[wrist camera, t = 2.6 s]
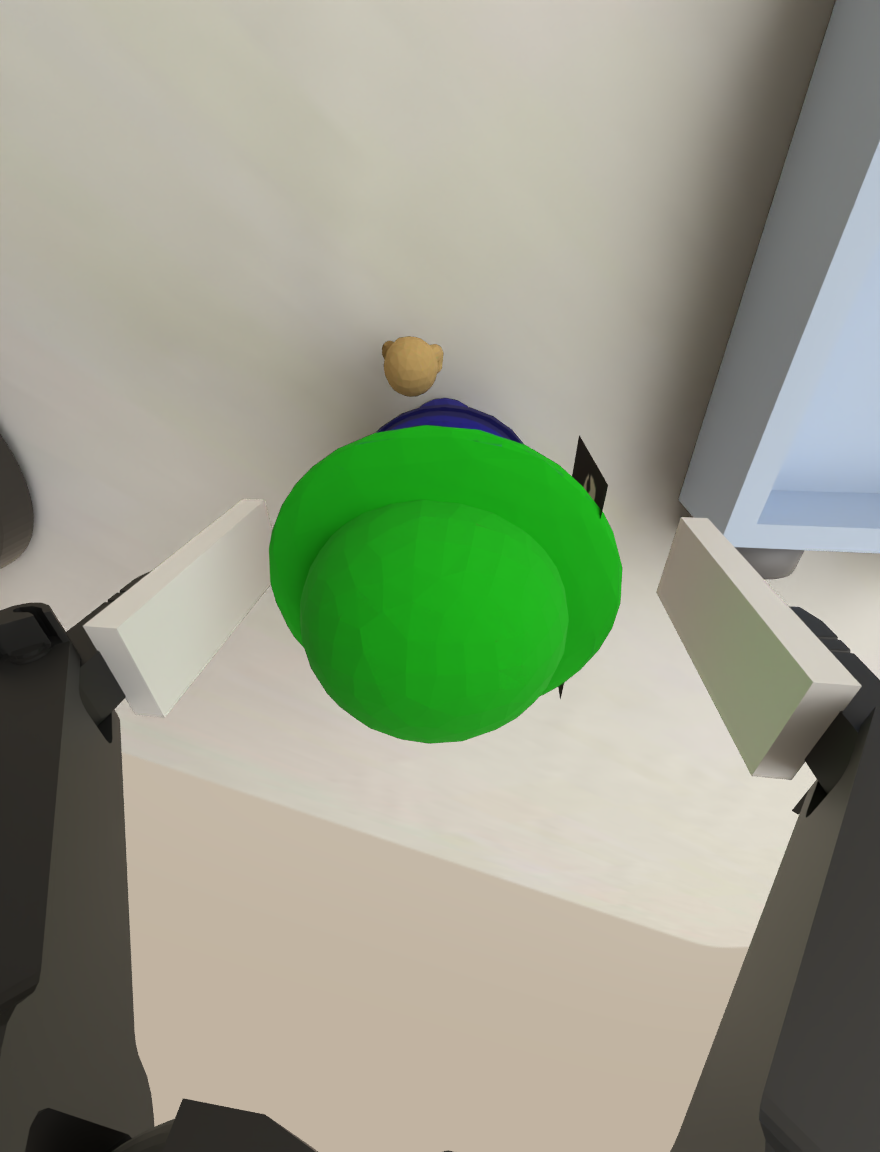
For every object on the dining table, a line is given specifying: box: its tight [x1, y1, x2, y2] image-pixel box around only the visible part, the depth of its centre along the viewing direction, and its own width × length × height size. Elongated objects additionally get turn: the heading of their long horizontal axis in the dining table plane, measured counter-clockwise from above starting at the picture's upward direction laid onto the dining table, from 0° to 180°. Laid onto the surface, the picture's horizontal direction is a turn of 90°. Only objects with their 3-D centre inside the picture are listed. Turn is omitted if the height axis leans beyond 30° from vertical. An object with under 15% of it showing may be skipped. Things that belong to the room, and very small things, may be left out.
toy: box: [269, 336, 622, 743], centre depth 14 cm, size 12×9×15 cm
